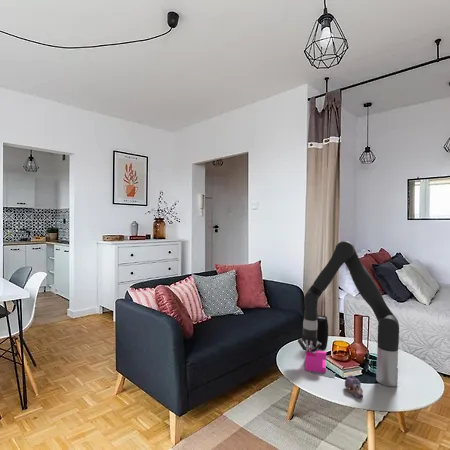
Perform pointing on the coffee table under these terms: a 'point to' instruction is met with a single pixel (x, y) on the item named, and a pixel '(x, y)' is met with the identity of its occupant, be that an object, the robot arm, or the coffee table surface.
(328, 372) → the grey mat
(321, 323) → the portable speaker
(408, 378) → the coffee table surface
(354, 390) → the purple rock
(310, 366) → the bracket
